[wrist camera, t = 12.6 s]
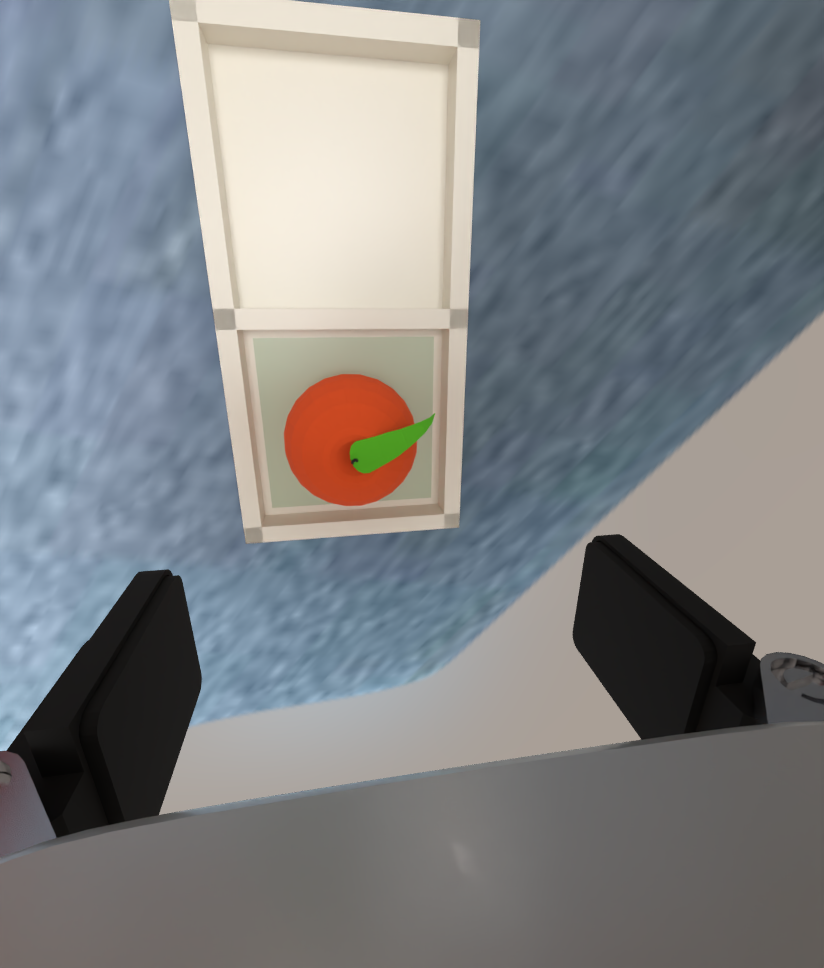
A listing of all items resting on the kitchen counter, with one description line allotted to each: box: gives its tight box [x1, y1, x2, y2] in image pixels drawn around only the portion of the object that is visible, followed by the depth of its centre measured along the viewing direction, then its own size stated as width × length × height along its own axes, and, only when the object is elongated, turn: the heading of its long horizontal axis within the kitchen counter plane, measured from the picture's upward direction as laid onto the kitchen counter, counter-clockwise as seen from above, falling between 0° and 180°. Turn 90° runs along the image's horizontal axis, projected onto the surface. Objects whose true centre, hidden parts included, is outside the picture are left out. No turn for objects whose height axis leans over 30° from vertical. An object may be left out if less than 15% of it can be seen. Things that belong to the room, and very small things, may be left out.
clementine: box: [284, 374, 435, 506], centre depth 24 cm, size 8×7×7 cm
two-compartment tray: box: [169, 0, 480, 544], centre depth 25 cm, size 13×25×2 cm, turn 0°
